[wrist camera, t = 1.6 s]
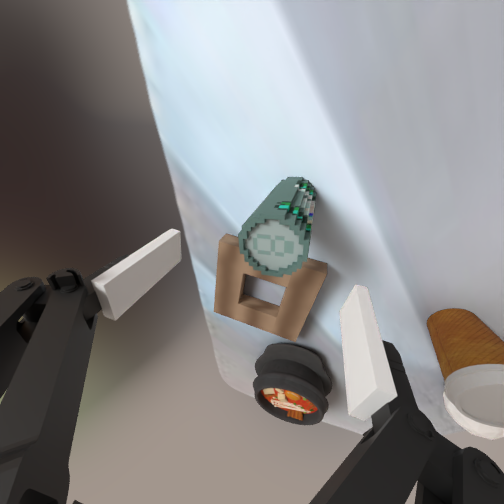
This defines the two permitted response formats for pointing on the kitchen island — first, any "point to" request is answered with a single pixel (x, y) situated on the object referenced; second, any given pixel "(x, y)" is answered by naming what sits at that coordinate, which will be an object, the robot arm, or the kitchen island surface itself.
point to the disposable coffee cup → (470, 364)
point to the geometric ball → (473, 423)
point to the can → (280, 229)
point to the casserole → (292, 384)
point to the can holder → (258, 311)
